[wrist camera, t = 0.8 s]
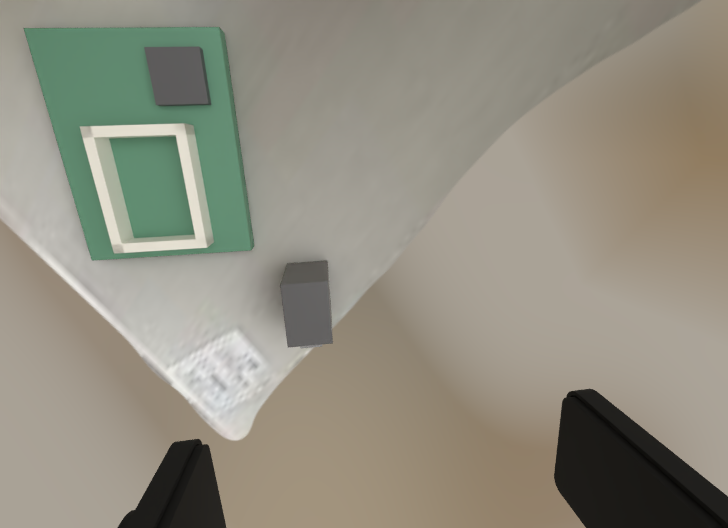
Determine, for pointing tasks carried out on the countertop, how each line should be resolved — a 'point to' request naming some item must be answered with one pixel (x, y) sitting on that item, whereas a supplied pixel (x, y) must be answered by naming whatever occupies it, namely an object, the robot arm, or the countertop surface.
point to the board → (146, 137)
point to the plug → (307, 304)
